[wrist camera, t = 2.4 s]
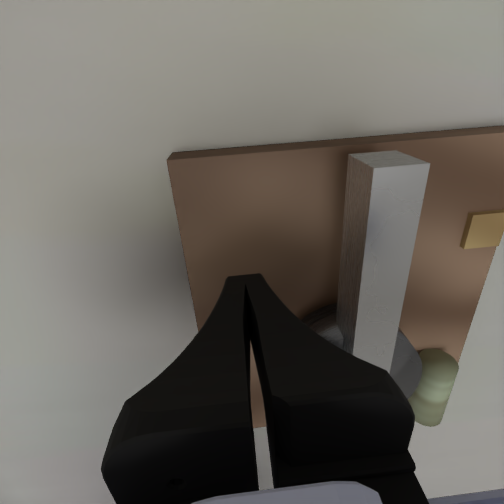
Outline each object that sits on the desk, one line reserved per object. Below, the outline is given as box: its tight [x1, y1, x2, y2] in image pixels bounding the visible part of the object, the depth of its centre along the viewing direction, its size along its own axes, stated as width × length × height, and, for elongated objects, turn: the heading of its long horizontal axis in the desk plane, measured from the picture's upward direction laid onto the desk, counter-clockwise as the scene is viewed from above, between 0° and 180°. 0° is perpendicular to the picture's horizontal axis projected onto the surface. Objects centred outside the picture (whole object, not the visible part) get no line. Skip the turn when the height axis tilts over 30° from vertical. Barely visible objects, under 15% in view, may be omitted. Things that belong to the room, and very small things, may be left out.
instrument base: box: [167, 126, 504, 428], centre depth 16 cm, size 16×14×3 cm
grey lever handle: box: [301, 150, 430, 400], centre depth 13 cm, size 13×6×3 cm, turn 4°
